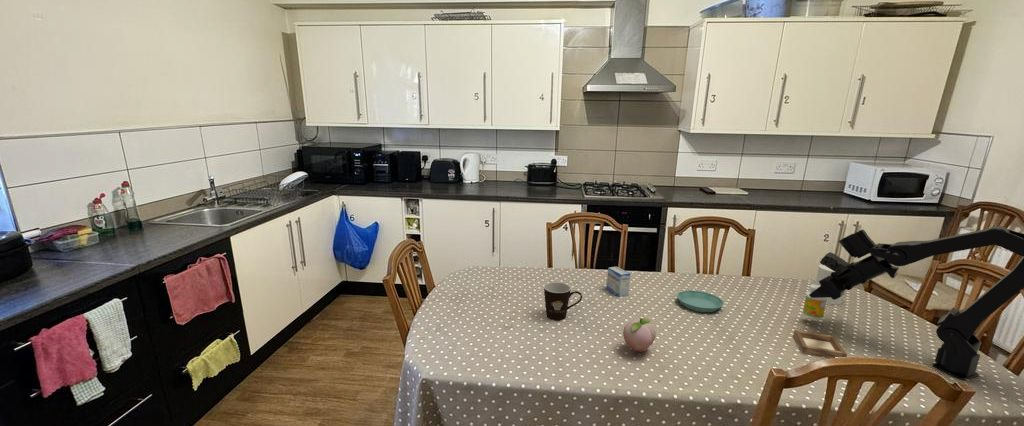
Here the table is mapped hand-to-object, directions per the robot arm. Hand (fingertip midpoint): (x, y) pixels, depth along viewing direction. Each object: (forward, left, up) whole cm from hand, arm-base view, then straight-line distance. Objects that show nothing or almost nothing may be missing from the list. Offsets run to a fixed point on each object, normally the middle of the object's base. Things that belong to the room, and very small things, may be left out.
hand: (813, 293), depth 133 cm
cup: (+11, -22, -10) cm, 27 cm away
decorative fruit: (-1, +63, -10) cm, 63 cm away
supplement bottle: (-1, 0, -7) cm, 7 cm away
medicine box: (+36, +48, -10) cm, 61 cm away
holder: (-13, +12, -10) cm, 20 cm away
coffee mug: (+23, +76, -10) cm, 80 cm away
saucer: (+19, +26, -10) cm, 34 cm away
